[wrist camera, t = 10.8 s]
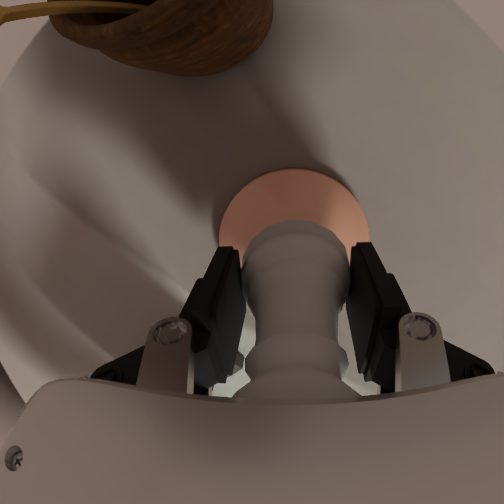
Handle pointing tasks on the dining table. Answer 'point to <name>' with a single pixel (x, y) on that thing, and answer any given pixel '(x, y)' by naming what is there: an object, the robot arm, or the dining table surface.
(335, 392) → the rook chess piece
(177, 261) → the dining table surface
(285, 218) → the pink round domed part
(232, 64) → the utensil holder
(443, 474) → the robot arm
